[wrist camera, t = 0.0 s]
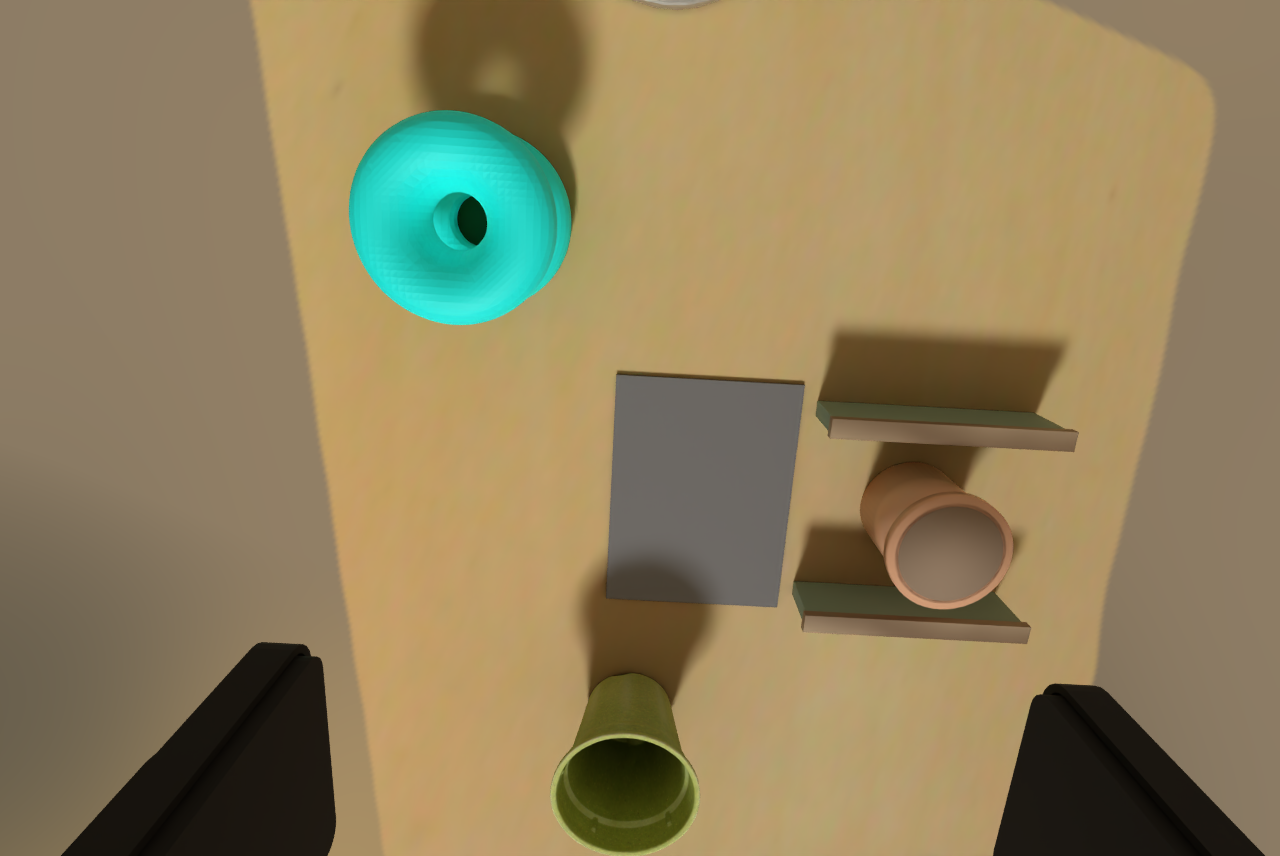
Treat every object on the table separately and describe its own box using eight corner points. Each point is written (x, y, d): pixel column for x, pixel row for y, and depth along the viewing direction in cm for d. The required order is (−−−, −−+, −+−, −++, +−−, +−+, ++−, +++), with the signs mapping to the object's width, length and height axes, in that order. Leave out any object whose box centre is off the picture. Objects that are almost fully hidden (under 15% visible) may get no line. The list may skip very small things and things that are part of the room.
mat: (616, 374, 45) (616, 374, 45) (804, 384, 46) (804, 385, 45) (606, 596, 50) (606, 598, 50) (776, 605, 50) (776, 607, 50)
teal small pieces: (556, 114, 32) (549, 335, 35) (577, 137, 41) (570, 309, 44) (332, 98, 32) (344, 321, 35) (405, 124, 41) (409, 298, 44)
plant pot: (542, 724, 53) (523, 818, 45) (605, 629, 51) (597, 711, 43) (649, 777, 55) (650, 878, 46) (715, 687, 52) (729, 777, 44)
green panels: (814, 399, 46) (832, 418, 41) (1037, 411, 46) (1078, 432, 42) (789, 595, 50) (803, 632, 46) (993, 606, 50) (1027, 643, 46)
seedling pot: (862, 453, 47) (898, 493, 40) (971, 459, 47) (1025, 500, 40) (847, 552, 49) (879, 606, 42) (951, 557, 49) (1000, 612, 42)
